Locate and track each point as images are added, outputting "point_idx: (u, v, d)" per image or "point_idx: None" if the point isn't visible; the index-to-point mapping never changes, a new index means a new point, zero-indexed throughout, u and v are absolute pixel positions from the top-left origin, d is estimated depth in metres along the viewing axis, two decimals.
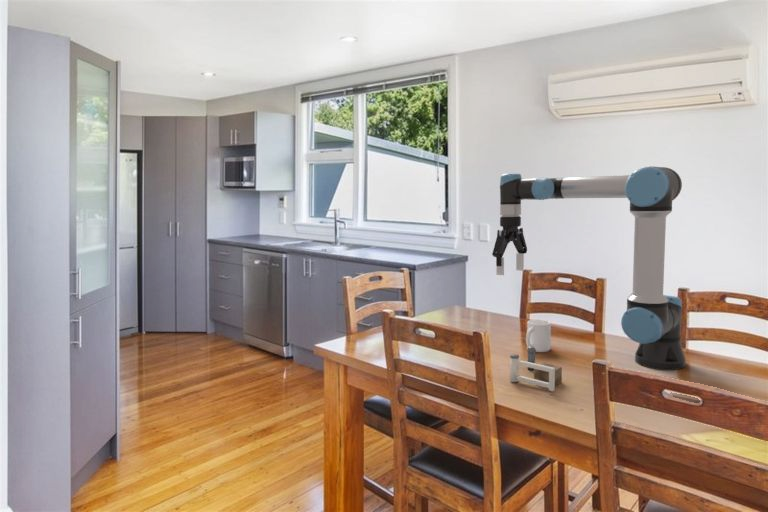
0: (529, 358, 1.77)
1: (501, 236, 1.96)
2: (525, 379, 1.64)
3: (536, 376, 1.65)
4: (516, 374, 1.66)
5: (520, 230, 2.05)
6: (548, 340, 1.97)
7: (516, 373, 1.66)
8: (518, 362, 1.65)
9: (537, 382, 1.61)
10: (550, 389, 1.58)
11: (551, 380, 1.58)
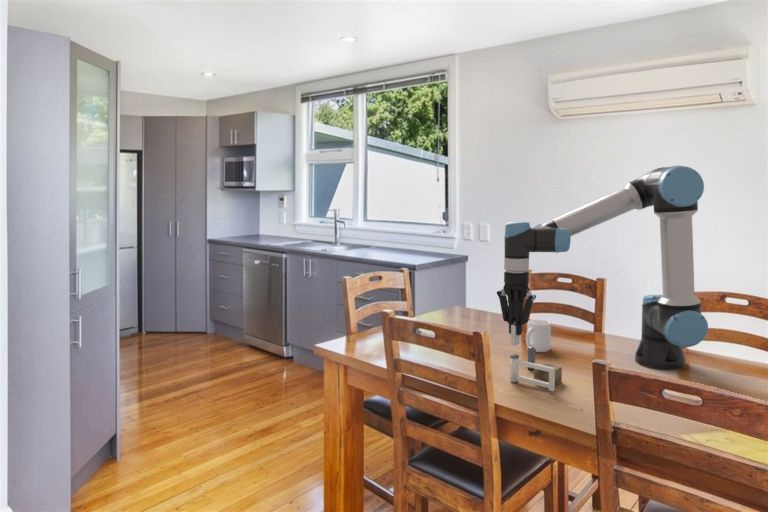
0: (529, 358, 1.77)
1: None
2: (525, 379, 1.64)
3: (536, 376, 1.65)
4: (516, 374, 1.66)
5: (529, 297, 1.67)
6: (548, 340, 1.97)
7: (516, 373, 1.66)
8: (518, 362, 1.65)
9: (537, 382, 1.61)
10: (550, 389, 1.58)
11: (551, 380, 1.58)
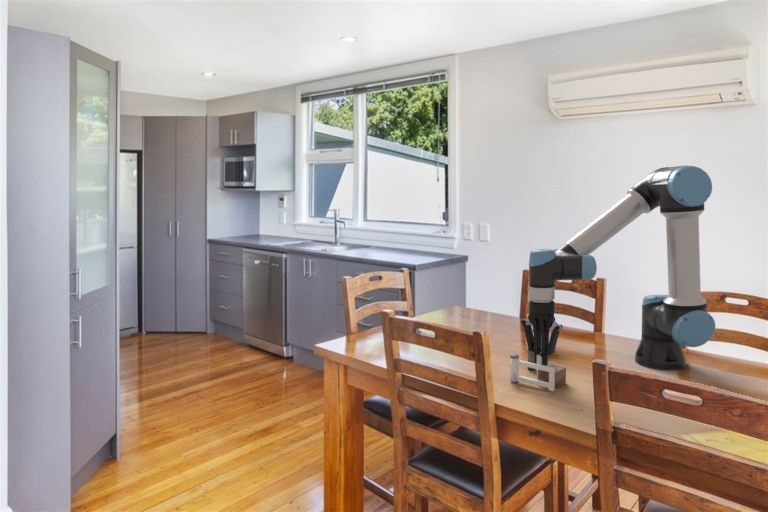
0: (529, 358, 1.77)
1: None
2: (525, 379, 1.64)
3: (540, 376, 1.64)
4: (516, 374, 1.66)
5: (555, 327, 1.62)
6: None
7: (516, 373, 1.66)
8: (518, 362, 1.65)
9: (537, 382, 1.61)
10: (550, 389, 1.58)
11: (551, 380, 1.58)
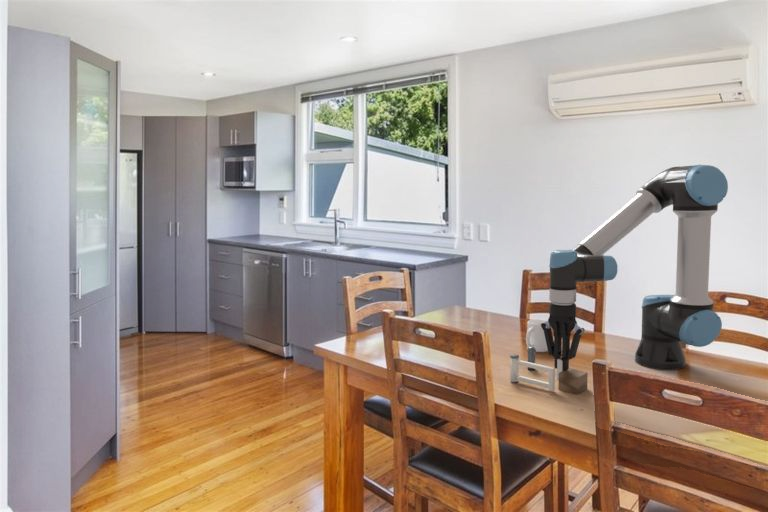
0: (529, 358, 1.77)
1: None
2: (525, 379, 1.64)
3: (561, 381, 1.60)
4: (516, 374, 1.66)
5: (577, 330, 1.57)
6: None
7: (516, 373, 1.66)
8: (518, 362, 1.65)
9: (537, 382, 1.61)
10: (550, 389, 1.58)
11: (551, 380, 1.58)
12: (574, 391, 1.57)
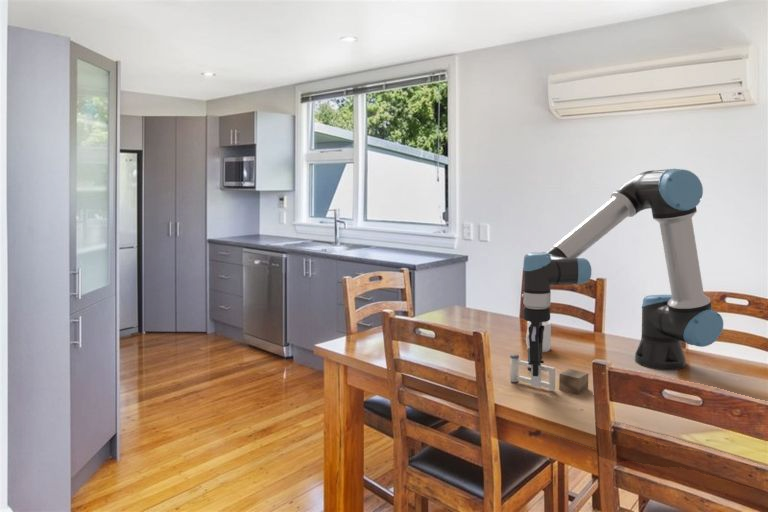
0: (529, 358, 1.77)
1: (536, 343, 1.52)
2: (525, 379, 1.64)
3: (562, 382, 1.59)
4: (516, 374, 1.66)
5: None
6: (548, 340, 1.97)
7: (516, 373, 1.66)
8: (518, 362, 1.65)
9: None
10: (550, 389, 1.59)
11: (551, 380, 1.58)
12: (575, 392, 1.57)
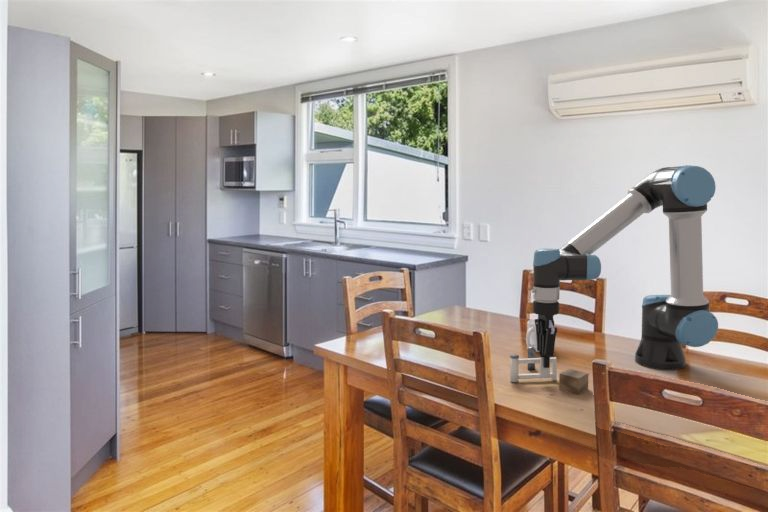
0: None
1: (554, 335, 1.58)
2: (528, 376, 1.67)
3: (562, 382, 1.59)
4: None
5: None
6: None
7: None
8: (520, 361, 1.66)
9: None
10: (554, 378, 1.67)
11: (555, 369, 1.67)
12: (575, 392, 1.57)
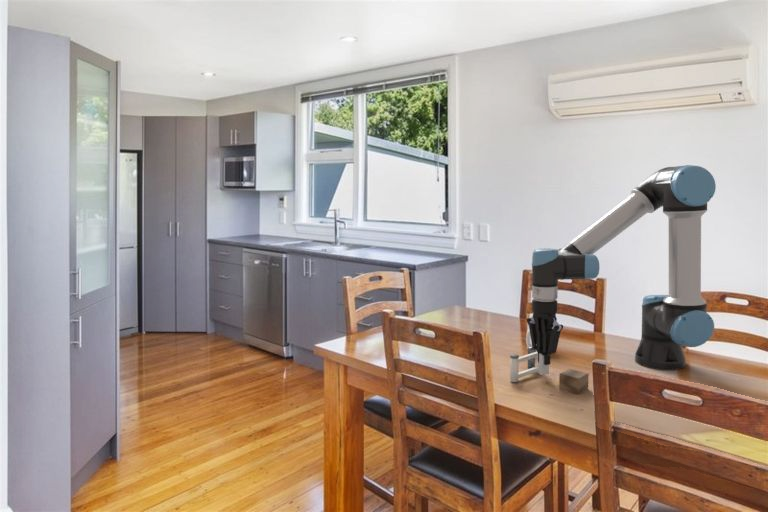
0: None
1: (559, 332, 1.63)
2: (524, 373, 1.69)
3: (561, 382, 1.59)
4: None
5: None
6: None
7: None
8: (519, 360, 1.67)
9: (532, 370, 1.72)
10: None
11: None
12: (575, 392, 1.57)
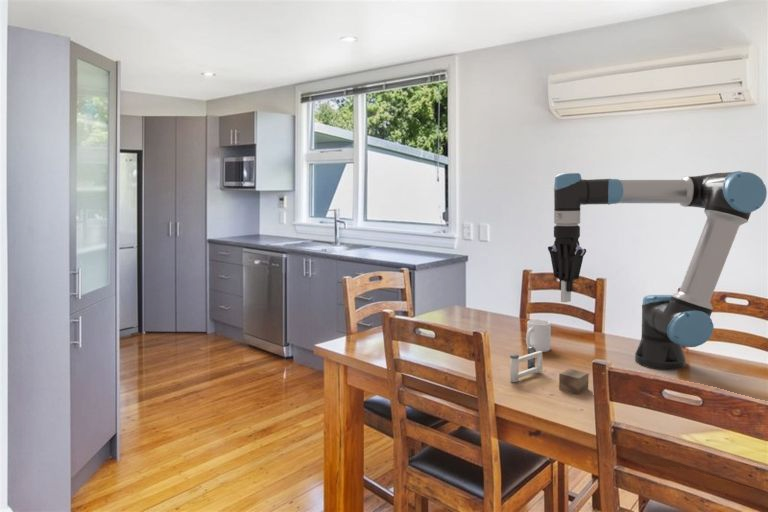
0: None
1: (582, 256, 1.61)
2: (524, 373, 1.69)
3: (561, 382, 1.59)
4: None
5: None
6: (548, 340, 1.97)
7: None
8: (519, 360, 1.67)
9: (532, 370, 1.72)
10: (540, 371, 1.74)
11: (541, 362, 1.74)
12: (575, 392, 1.57)
